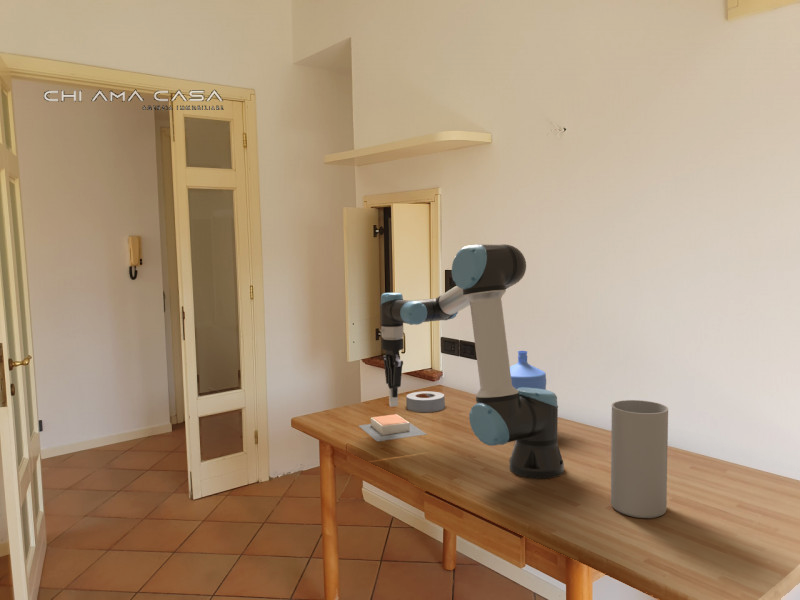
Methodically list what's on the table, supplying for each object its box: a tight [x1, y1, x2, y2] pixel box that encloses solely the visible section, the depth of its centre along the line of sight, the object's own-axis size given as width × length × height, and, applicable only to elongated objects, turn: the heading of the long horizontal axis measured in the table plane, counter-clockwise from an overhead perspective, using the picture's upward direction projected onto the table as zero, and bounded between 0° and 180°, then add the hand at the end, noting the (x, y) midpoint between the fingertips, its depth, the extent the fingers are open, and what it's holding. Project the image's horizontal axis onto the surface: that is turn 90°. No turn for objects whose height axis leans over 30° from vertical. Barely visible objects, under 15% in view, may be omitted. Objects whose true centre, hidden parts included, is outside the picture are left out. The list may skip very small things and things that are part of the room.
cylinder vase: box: [610, 399, 669, 519], centre depth 146 cm, size 12×12×25 cm
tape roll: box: [405, 390, 446, 413], centre depth 244 cm, size 15×15×5 cm
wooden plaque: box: [370, 413, 411, 435], centre depth 214 cm, size 3×10×12 cm
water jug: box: [510, 350, 547, 390], centre depth 208 cm, size 16×16×28 cm
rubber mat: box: [358, 422, 427, 442], centre depth 213 cm, size 20×18×1 cm
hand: (393, 405), depth 210 cm, fingers closed
